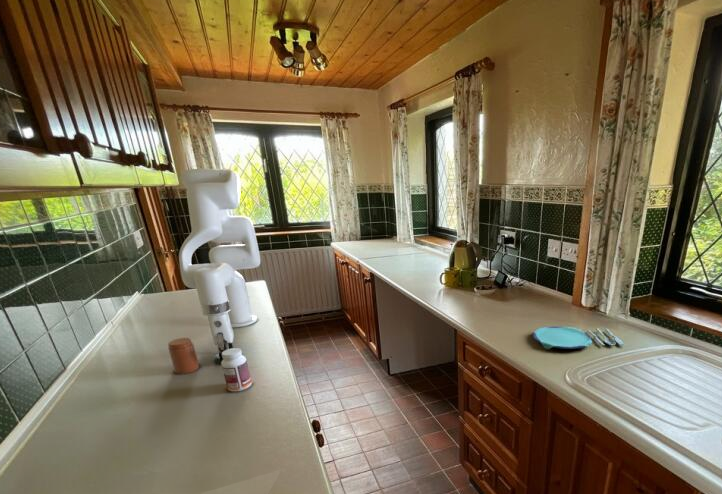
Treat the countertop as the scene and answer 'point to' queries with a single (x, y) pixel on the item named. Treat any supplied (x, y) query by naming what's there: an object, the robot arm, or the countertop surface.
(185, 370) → the jam jar
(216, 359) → the jar lid
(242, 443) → the countertop surface
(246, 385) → the pill bottle
